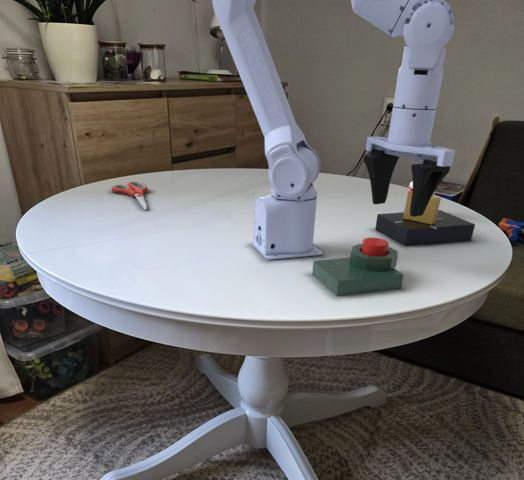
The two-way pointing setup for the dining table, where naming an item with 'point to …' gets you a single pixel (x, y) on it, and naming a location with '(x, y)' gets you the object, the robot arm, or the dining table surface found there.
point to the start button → (375, 247)
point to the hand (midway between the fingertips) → (396, 209)
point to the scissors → (133, 191)
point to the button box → (359, 273)
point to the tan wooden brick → (429, 213)
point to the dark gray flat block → (424, 229)
